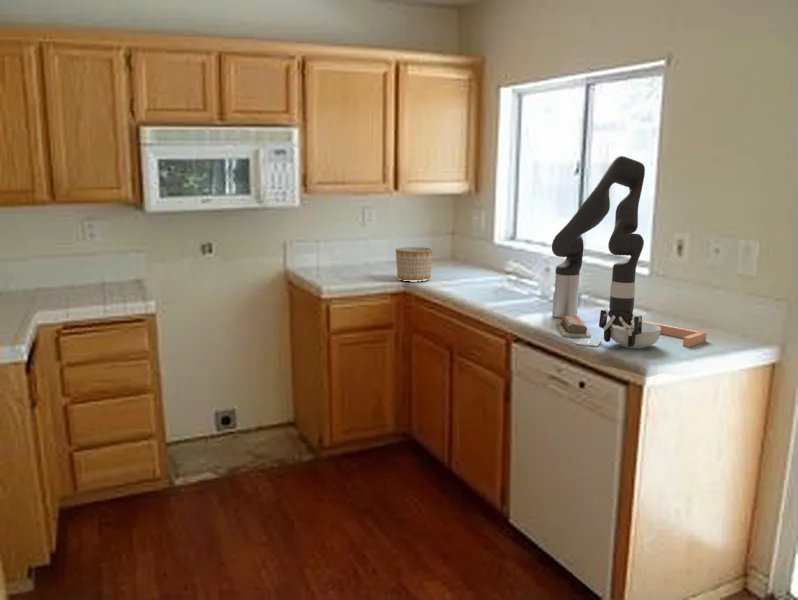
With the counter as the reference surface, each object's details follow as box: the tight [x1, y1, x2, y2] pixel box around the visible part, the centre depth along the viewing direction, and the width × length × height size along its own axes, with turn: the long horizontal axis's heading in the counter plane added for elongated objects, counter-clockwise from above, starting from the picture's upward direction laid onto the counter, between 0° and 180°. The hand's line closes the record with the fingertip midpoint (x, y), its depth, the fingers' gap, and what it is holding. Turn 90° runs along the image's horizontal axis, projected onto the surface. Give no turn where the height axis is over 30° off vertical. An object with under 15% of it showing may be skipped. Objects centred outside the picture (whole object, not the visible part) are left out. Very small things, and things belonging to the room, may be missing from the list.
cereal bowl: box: [610, 320, 661, 350], centre depth 227 cm, size 17×17×7 cm
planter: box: [395, 246, 434, 280], centre depth 354 cm, size 19×19×16 cm
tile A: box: [576, 338, 602, 348], centre depth 230 cm, size 7×7×1 cm
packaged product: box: [555, 315, 592, 338], centre depth 247 cm, size 18×5×10 cm
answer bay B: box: [642, 320, 708, 348], centre depth 239 cm, size 12×25×3 cm, turn 40°
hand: (618, 343), depth 222 cm, fingers open, 8 cm apart
